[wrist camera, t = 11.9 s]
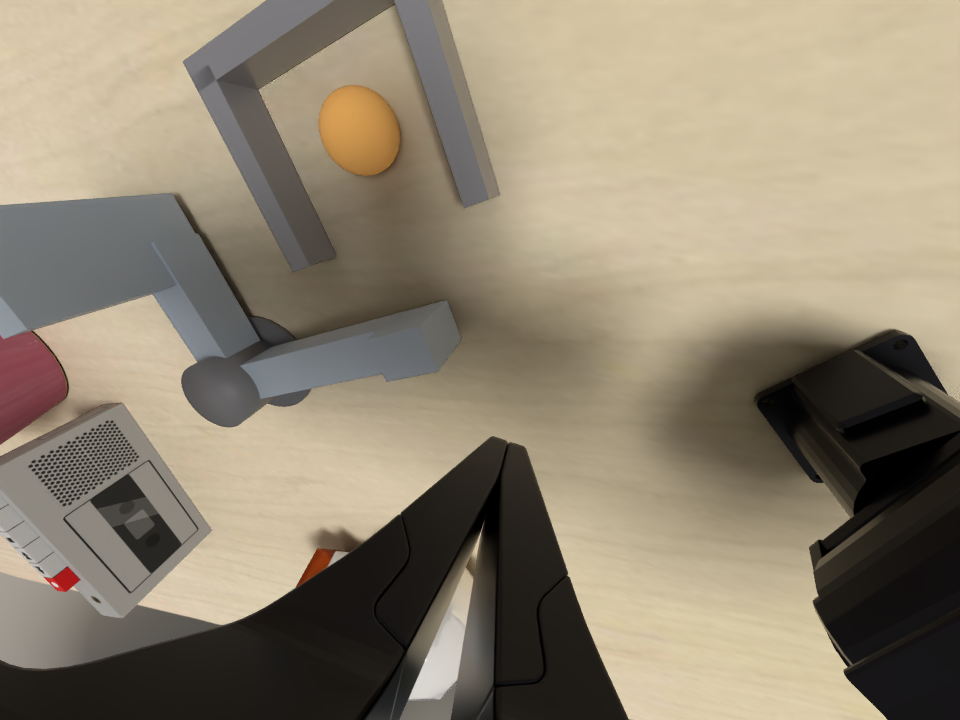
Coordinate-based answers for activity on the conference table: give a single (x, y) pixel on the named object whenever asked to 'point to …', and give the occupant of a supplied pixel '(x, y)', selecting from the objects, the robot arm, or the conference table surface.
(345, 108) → the ball
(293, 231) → the pocket
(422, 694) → the potion bottle
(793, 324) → the conference table surface
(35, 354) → the plant pot
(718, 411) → the conference table surface
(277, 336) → the pivot plate
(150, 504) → the cassette player
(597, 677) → the robot arm
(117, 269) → the lever
